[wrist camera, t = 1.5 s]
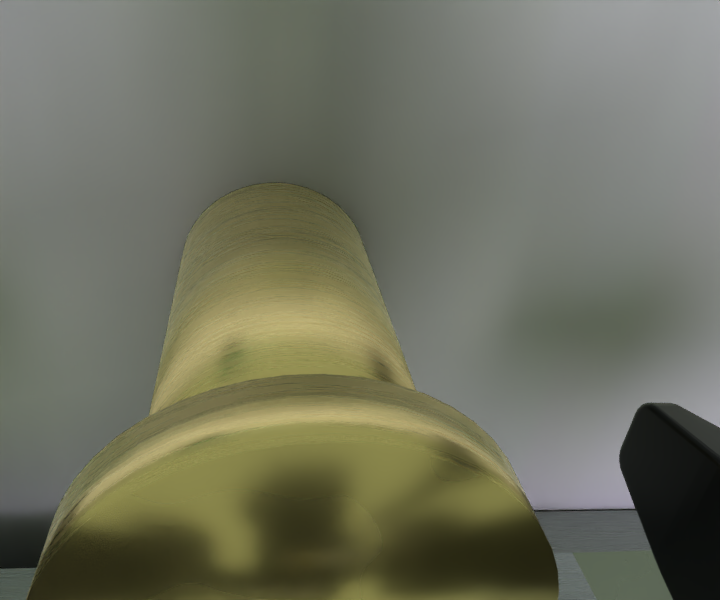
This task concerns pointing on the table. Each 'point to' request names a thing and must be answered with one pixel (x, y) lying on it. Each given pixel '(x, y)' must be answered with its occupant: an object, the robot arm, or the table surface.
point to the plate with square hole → (571, 552)
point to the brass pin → (291, 443)
